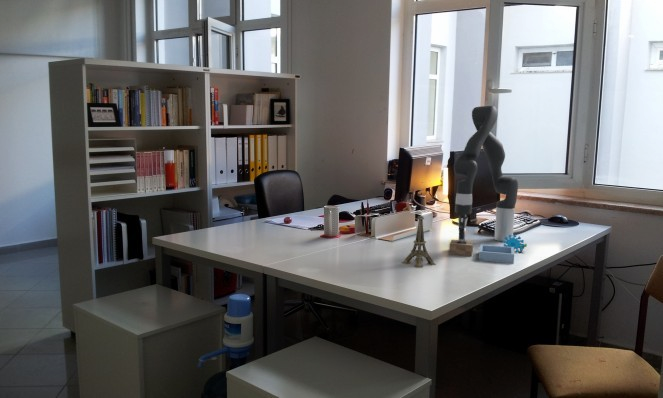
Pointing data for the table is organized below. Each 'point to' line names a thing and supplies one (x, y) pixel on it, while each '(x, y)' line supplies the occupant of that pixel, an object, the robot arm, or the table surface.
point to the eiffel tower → (419, 247)
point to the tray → (496, 253)
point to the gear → (514, 243)
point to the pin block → (461, 248)
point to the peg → (462, 239)
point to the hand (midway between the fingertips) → (461, 237)
